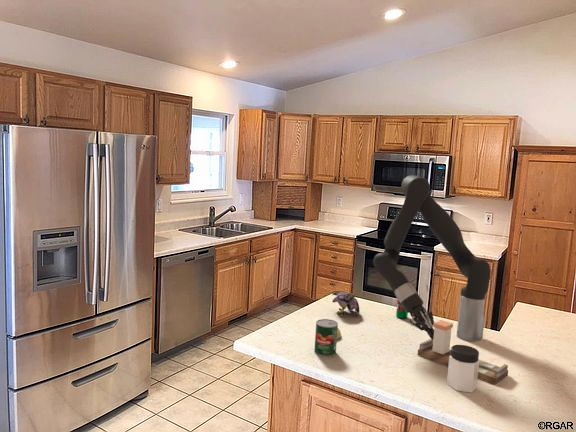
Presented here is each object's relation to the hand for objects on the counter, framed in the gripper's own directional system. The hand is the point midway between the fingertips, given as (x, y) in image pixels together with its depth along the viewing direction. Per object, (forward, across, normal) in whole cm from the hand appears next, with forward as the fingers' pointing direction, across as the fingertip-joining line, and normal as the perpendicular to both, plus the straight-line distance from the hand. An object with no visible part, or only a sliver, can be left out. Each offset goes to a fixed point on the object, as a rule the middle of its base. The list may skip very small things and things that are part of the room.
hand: (435, 338), depth 163 cm
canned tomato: (-14, -30, +23) cm, 41 cm away
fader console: (+12, 0, -3) cm, 12 cm away
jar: (+17, -15, -8) cm, 24 cm away
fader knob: (+5, 0, +1) cm, 5 cm away
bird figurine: (-30, +8, +39) cm, 50 cm away
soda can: (-17, +26, +26) cm, 41 cm away
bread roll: (-20, -17, +30) cm, 40 cm away
